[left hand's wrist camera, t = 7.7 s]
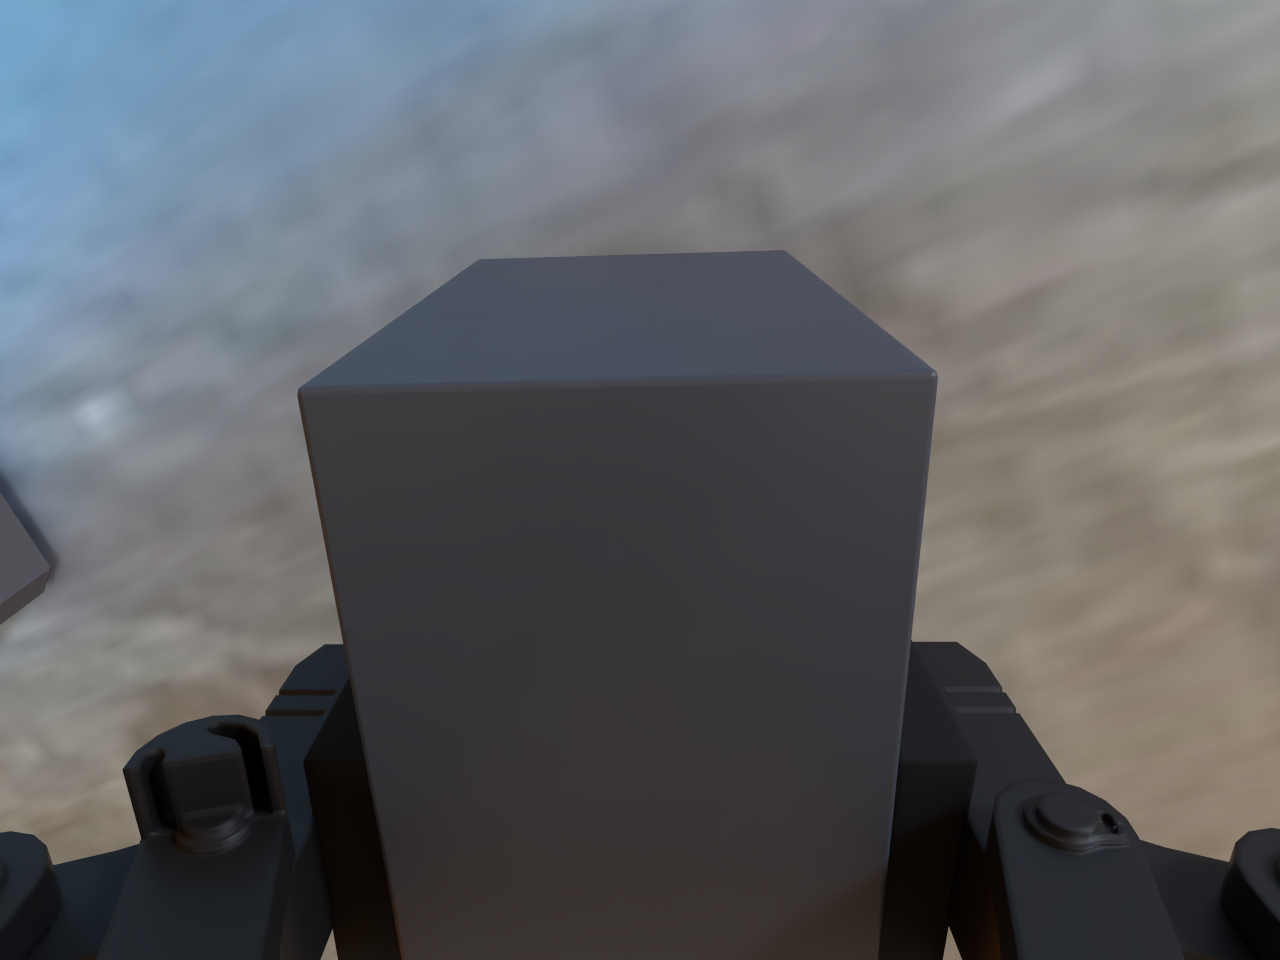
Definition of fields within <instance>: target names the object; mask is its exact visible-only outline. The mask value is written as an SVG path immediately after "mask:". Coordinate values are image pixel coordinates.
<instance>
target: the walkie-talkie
mask: <svg viewBox="0 0 1280 960" xmlns="http://www.w3.org/2000/svg"><path fill="white" fill-rule="evenodd" d="M50 569H51V567H50V565H49V564H48V562H47V561H46V559H45V558H44V556H43V555H42V553H41V552H40V550H39V549H38V547H37V546H36V544H35V543H34V541H33V540H32V538H31V537H30V536H29V534H28V533H27V531H26V530H25V528H24V527H23V525H22V524H21V522H20V521H19V519H18V518H17V516H16V515H15V513H14V512H13V510H12V509H11V507H10V506H9V504H8V503H7V501H6V500H5V498H4V497H3V495H2V494H1V492H0V624H2V623H3V622H4V621H6V620H7V619H8V618H10V617H11V616H12V615H14V614H15V613H16V612H18V611H19V610H20V609H22V608H23V607H24V606H26V605H27V604H28V603H30V602H31V601H32V600H34V599H35V598H36V597H38V596H39V595H40V594H42V593H43V592H44V589H45V586H46V582H47V579H48V576H49V573H50Z"/></svg>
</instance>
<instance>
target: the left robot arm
mask: <svg viewBox="0 0 1280 960" xmlns="http://www.w3.org/2000/svg"><path fill="white" fill-rule="evenodd" d="M123 773H124V777H125V781H126V784H127V788H128V792H129V795H130V799H131V802H132V806H133V810H134V813H135V817H136V821H137V824H138V828H139V832H140V835H141V841H140V844H137V845H134V846H131V847H127V848H124V849H121V850H117V851H113V852H109V853H104V854H100V855H96V856H92V857H87V858H83V859H79V860H74V861H70V862H66V863H61V864H57V865H53V864H52V861H51V858H50V855H49V852H48V849H47V846H46V845H45V844H44V843H43V842H41V841H40V840H39V839H38V838H37V837H35V836H34V835H31V834H25V833H18V832H12V831H10V832H3V833H0V960H320V959H321V957H322V954H323V951H324V949H325V946H326V944H327V941H328V939H329V936H330V934H331V931H332V929H333V933H334V939H335V944H336V950H337V956H338V960H402V958H401V952H400V947H399V941H398V936H397V931H396V925H395V920H394V914H393V909H392V904H391V898H390V893H389V887H388V882H387V877H386V871H385V866H384V860H383V855H382V850H381V844H380V839H379V833H378V828H377V823H376V817H375V812H374V806H373V801H372V796H371V790H370V785H369V779H368V774H367V769H366V763H365V758H364V752H363V747H362V741H361V736H360V731H359V725H358V720H357V714H356V709H355V704H354V698H353V693H352V687H351V682H350V677H349V671H348V666H347V660H346V655H345V650H344V644H325V645H323V646H322V647H321V648H319V649H318V650H316V651H315V652H314V653H312V654H311V655H310V656H308V657H307V658H306V659H304V660H303V661H301V662H300V663H299V664H297V665H296V666H295V667H294V669H293V670H292V672H291V673H290V675H289V676H288V678H287V680H286V681H285V683H284V684H283V686H282V687H281V689H280V690H279V695H276V696H275V698H274V699H273V701H272V702H271V704H270V705H269V707H268V708H267V710H266V714H265V716H262V717H261V719H260V720H258V719H254V718H250V717H246V716H242V715H221V716H211V717H206V718H202V719H198V720H194V721H190V722H186V723H184V724H181V725H179V726H177V727H175V728H173V729H170V730H168V731H166V732H164V733H162V734H159V735H158V736H156V737H155V738H153V739H152V740H151V741H149V742H148V743H147V744H145V745H144V746H143V747H141V748H140V749H139V750H137V751H136V752H135V753H134V755H133V756H132V757H131V759H130V760H129V761H128V763H127V764H126V766H125V767H124V768H123ZM948 926H949V927H950V930H951V932H952V935H953V937H954V940H955V943H956V945H957V948H958V950H959V953H960V955H961V958H962V960H1280V829H1275V828H1268V829H1262V830H1255V831H1249V832H1247V833H1246V834H1245V835H1244V836H1243V837H1242V838H1240V839H1239V840H1238V841H1237V842H1236V843H1235V846H1234V849H1233V852H1232V855H1231V858H1230V861H1229V862H1226V861H1222V860H1217V859H1213V858H1209V857H1204V856H1200V855H1196V854H1191V853H1187V852H1183V851H1178V850H1174V849H1170V848H1165V847H1162V846H1159V845H1155V844H1152V843H1149V842H1145V841H1142V840H1140V839H1139V837H1138V836H1137V834H1136V832H1135V831H1134V829H1133V828H1132V826H1131V825H1130V823H1129V822H1128V820H1127V818H1126V817H1124V816H1123V815H1122V814H1121V813H1120V812H1118V811H1117V810H1116V809H1115V808H1114V807H1112V806H1111V805H1110V804H1109V803H1108V802H1106V801H1105V800H1103V799H1101V798H1099V797H1097V796H1095V795H1093V794H1091V793H1089V792H1087V791H1086V790H1084V789H1082V788H1080V787H1076V786H1073V785H1069V784H1066V782H1065V781H1064V779H1063V778H1062V776H1061V775H1060V773H1059V772H1058V770H1057V769H1056V768H1055V766H1054V765H1053V763H1052V762H1051V760H1050V759H1049V757H1048V756H1047V754H1046V753H1045V751H1044V750H1043V748H1042V747H1041V745H1040V744H1039V742H1038V741H1037V739H1036V738H1035V736H1034V735H1033V733H1032V732H1031V730H1030V729H1029V727H1028V726H1027V724H1026V723H1025V721H1024V720H1023V718H1022V717H1021V715H1020V714H1019V713H1016V708H1015V706H1014V705H1013V703H1012V702H1011V700H1010V699H1009V697H1008V696H1007V694H1006V693H1003V692H1002V687H1001V685H1000V684H999V682H998V681H997V679H996V678H995V676H994V675H993V673H992V672H991V670H990V669H989V667H988V666H987V664H986V663H985V662H984V661H982V660H981V659H979V658H978V657H977V656H975V655H974V654H973V653H971V652H970V651H968V650H967V649H966V648H964V647H963V646H962V645H960V644H959V643H957V642H912V640H911V645H910V654H909V664H908V674H907V684H906V694H905V703H904V713H903V723H902V733H901V742H900V752H899V762H898V772H897V781H896V791H895V801H894V811H893V820H892V830H891V840H890V850H889V859H888V869H887V879H886V889H885V899H884V908H883V918H882V928H881V938H880V947H879V957H878V960H943V955H944V949H945V943H946V938H947V932H948Z"/></svg>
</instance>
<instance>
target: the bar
mask: <svg viewBox="0 0 1280 960" xmlns="http://www.w3.org/2000/svg"><path fill="white" fill-rule="evenodd" d="M937 381H938V376H937V373H936V371H935V370H934V369H933V368H931V367H930V366H929V365H928V364H926V363H925V362H924V361H923V360H921V359H920V358H919V357H918V356H916V355H915V354H914V353H913V352H911V351H910V350H909V349H908V348H906V347H905V346H904V345H903V344H901V343H900V342H899V341H898V340H896V339H895V338H894V337H893V336H891V335H890V334H889V333H888V332H886V331H885V330H884V329H883V328H881V327H880V326H879V325H878V324H876V323H875V322H874V321H873V320H871V319H870V318H869V317H868V316H866V315H865V314H864V313H863V312H861V311H860V310H859V309H858V308H856V307H855V306H854V305H852V304H851V303H850V302H849V301H847V300H846V299H845V298H844V297H842V296H841V295H840V294H839V293H837V292H836V291H835V290H834V289H832V288H831V287H830V286H829V285H827V284H826V283H825V282H824V281H822V280H821V279H820V278H819V277H817V276H816V275H815V274H814V273H812V272H811V271H810V270H809V269H807V268H806V267H805V266H804V265H802V264H801V263H800V262H799V261H797V260H796V259H795V258H794V257H792V256H791V255H790V254H789V253H787V252H786V251H783V250H781V251H747V252H714V253H680V254H646V255H613V256H579V257H545V258H512V259H480V260H478V261H476V262H475V263H474V264H472V265H471V266H469V267H468V268H467V269H465V270H464V271H462V272H461V273H460V274H458V275H457V276H455V277H454V278H453V279H451V280H450V281H448V282H447V283H446V284H444V285H443V286H441V287H440V288H439V289H437V290H436V291H434V292H433V293H432V294H430V295H429V296H427V297H426V298H425V299H423V300H422V301H420V302H419V303H418V304H416V305H415V306H413V307H412V308H411V309H409V310H408V311H406V312H405V313H404V314H402V315H401V316H399V317H398V318H397V319H395V320H394V321H392V322H391V323H390V324H388V325H387V326H385V327H384V328H383V329H381V330H380V331H378V332H377V333H376V334H374V335H373V336H371V337H370V338H369V339H367V340H366V341H364V342H363V343H362V344H360V345H359V346H357V347H356V348H355V349H353V350H352V351H350V352H349V353H348V354H346V355H345V356H343V357H342V358H341V359H339V360H338V361H336V362H335V363H334V364H332V365H331V366H329V367H328V368H327V369H325V370H324V371H322V372H321V373H320V374H318V375H317V376H316V377H314V378H313V379H311V380H310V381H309V382H307V383H306V384H304V385H303V386H302V387H300V388H299V390H298V394H297V395H298V401H299V406H300V412H301V417H302V423H303V428H304V433H305V439H306V444H307V450H308V455H309V460H310V466H311V471H312V477H313V482H314V487H315V493H316V498H317V504H318V509H319V515H320V520H321V525H322V531H323V536H324V542H325V547H326V552H327V558H328V563H329V569H330V574H331V579H332V585H333V590H334V596H335V601H336V606H337V612H338V617H339V623H340V628H341V633H342V639H343V644H344V650H345V655H346V660H347V666H348V671H349V677H350V682H351V687H352V693H353V698H354V704H355V709H356V714H357V720H358V725H359V731H360V736H361V741H362V747H363V752H364V758H365V763H366V769H367V774H368V779H369V785H370V790H371V796H372V801H373V806H374V812H375V817H376V823H377V828H378V833H379V839H380V844H381V850H382V855H383V860H384V866H385V871H386V877H387V882H388V887H389V893H390V898H391V904H392V909H393V914H394V920H395V925H396V931H397V936H398V941H399V947H400V952H401V958H402V960H878V957H879V947H880V938H881V928H882V918H883V908H884V899H885V889H886V879H887V869H888V859H889V850H890V840H891V830H892V820H893V811H894V801H895V791H896V781H897V772H898V762H899V752H900V742H901V733H902V723H903V713H904V703H905V694H906V684H907V674H908V664H909V654H910V645H911V635H912V625H913V615H914V606H915V596H916V586H917V576H918V567H919V557H920V547H921V537H922V528H923V518H924V508H925V498H926V489H927V479H928V469H929V459H930V449H931V440H932V430H933V420H934V410H935V401H936V391H937Z"/></svg>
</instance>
